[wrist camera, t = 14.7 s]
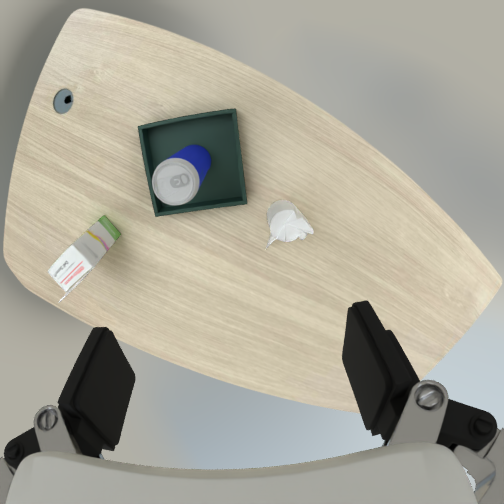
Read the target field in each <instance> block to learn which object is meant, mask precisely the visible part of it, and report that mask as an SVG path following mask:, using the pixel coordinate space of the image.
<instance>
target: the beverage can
mask: <svg viewBox="0 0 504 504" xmlns="http://www.w3.org/2000/svg"><path fill="white" fill-rule="evenodd" d="M210 166H211V157H210V154H209V153H208V151H207V150H206V149H205V148H204V147H202V146H199V145H189V146H187V147H185V148H183V149H182V150H180V151H178V152H177V153H175V154H174V155H172V156H171V157H169V158H168V159H166V160H165V161H163V162H162V163H160V164H159V165H158V166H157V168H156V169H155V171H154V174H153V178H152V186H153V190H154V192H155V194H156V196H157V197H158V198H159V199H160V200H161V201H162V202H164V203H166V204H168V205H181V204H185V203H187V202H189V201H190V200H191V199H193V198H194V196H195V195H196V193H197V192H198V190H199V188H200V186H201V184H202V182H203V180H204V178H205V176H206V174H207V172H208V171H209V169H210Z"/></svg>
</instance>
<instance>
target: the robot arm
mask: <svg viewBox="0 0 504 504" xmlns="http://www.w3.org/2000/svg"><path fill="white" fill-rule="evenodd" d="M342 360H343V364H344V367H345V370H346V373H347V375H348V378H349V381H350V384H351V387H352V390H353V392H354V395H355V398H356V401H357V404H358V407H359V410H360V413H361V416H362V419H363V422H364V425H365V428H366V430H371V433H372V436H374V435H378V434H381V437H382V439H383V440H385V441H384V443H383V445H382V447H378V448H374V449H370V450H365V451H360V452H356V453H352V454H348V455H343V456H338V457H333V458H328V459H322V460H316V461H311V462H305V463H298V464H291V465H283V466H274V467H263V468H249V469H224V470H201V469H177V468H163V467H152V466H143V465H135V464H128V463H122V462H116V461H110V460H105V459H104V458H103V456H102V454H101V451H102V449H105V450H110V451H114V449H115V445H117V444H118V443H119V440H120V436H121V431H122V427H123V424H124V419H125V416H126V412H127V408H128V405H129V401H130V397H131V394H132V390H133V387H134V383H135V373H134V371H133V370H132V368H131V366H130V364H129V362H128V361H127V359H126V357H125V355H124V353H123V351H122V349H121V348H120V346H119V344H118V342H117V340H116V338H115V336H114V334H113V332H112V331H110V330H109V329H108V328H107V327H95V328H93V330H92V331H91V333H90V335H89V337H88V339H87V341H86V343H85V345H84V347H83V349H82V351H81V353H80V355H79V357H78V359H77V361H76V363H75V365H74V367H73V369H72V371H71V373H70V376H69V377H68V380H67V382H66V384H65V386H64V388H63V391H62V393H61V395H60V397H59V400H58V404H59V406H58V408H57V407H56V406H53V405H47V406H44V407H42V408H41V409H40V410H39V411H38V412H37V413H36V415H35V418H34V427H33V428H31V429H30V430H28V431H26V432H25V433H23V434H21V435H19V436H18V437H16V438H14V439H12V440H11V441H10V442H9V443H8V444H7V445H6V447H5V450H4V457H5V458H3V457H1V458H0V504H504V429H503V428H502V429H501V430H499V429H498V428H497V423H496V420H495V418H494V417H493V416H492V415H491V414H490V413H489V412H486V411H484V410H480V409H477V408H474V407H471V406H468V405H465V404H462V403H459V402H456V401H453V400H450V399H448V393H447V390H446V389H445V387H444V386H443V385H442V384H440V383H439V382H436V381H433V380H423V381H421V382H420V380H419V378H418V376H417V375H416V373H415V371H414V369H413V367H412V365H411V363H410V362H409V360H408V358H407V356H406V354H405V353H404V351H403V349H402V347H401V346H400V344H399V342H398V340H397V339H396V337H395V335H394V334H393V332H392V331H391V330H385V328H384V327H383V325H382V323H381V322H380V320H379V318H378V316H377V315H376V313H375V311H374V310H373V308H372V306H371V305H370V303H369V302H368V301H361V302H355V303H353V304H352V307H349V308H348V313H347V322H346V330H345V338H344V345H343V352H342ZM462 466H463V467H465V468H466V469H467V470H468V471H467V473H468V474H470V475H471V476H472V477H473V478H474V479H475V483H476V488H475V491H473V489H472V486H471V483H470V481H469V479H468V477H467V475H466V473H465V470H464V469H463V467H462Z"/></svg>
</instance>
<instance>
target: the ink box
mask: <svg viewBox="0 0 504 504" xmlns="http://www.w3.org/2000/svg"><path fill="white" fill-rule="evenodd" d="M120 235H121V234H120V232H119V231H118V230H117V229H116V228H115V227H114V226H113V225H112V224H111V222H110V221H109V220H108V219H107V218H106V217H105V215H104V216H102V217H101V218H100V219H99V220H98V221H97V222H96V223H94V224H93V225H92V226H91V227H90V228H89V229H88V230H87V231H85V232H84V233H83V234H82V235H81V236H80V237H79V238H78V239H77V240H76V241H74V242H73V243H72V244H71V245H70V246H69V247H68V248H67V249H66V250H65V251H64V252H63V254H62V255H61V256H60V257H59V258H58V259H57V260H56V261H55V263H54V264H53V265H52V266H51V267H50V269H49V270H48V273H49V274H50V275H51V276H52V278H53V279H54V280H55V281H56V282H57V283H58V284H59V285H60V286H61V288H62V289H63V290H64V291H65V292H67V293H66V294H65V295H64V296H63V298H62V299H61V300H60V301H59V302H61V301H62V300H63V299H64V298H65V297H66V296H67V295H68V294H69V293H70V292H71V291H72V290H73V289H74V288H75V287H76V286H77V285H78V284H79V283H80V282H81V281H82V280H83V279H84V278H85V277H86V276H87V275H88V274H89V273H90V272H91V270H92V269H93V268H94V267H95V266H96V264H97V263H98V262H99V261H100V259H101V258H102V257H103V256H104V254H105V253H106V252H107V251H108V250H109V248H110V247H111V246H112V245H113V244H114V242H115V241H116V240H117V239H118V238H119V236H120Z"/></svg>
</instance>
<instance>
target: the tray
mask: <svg viewBox="0 0 504 504" xmlns="http://www.w3.org/2000/svg"><path fill="white" fill-rule="evenodd" d="M138 132H139V138H140V144H141V149H142V155H143V160H144V165H145V171H146V176H147V181H148V185H149V190H150V195H151V199H152V204H153V208H154V213H155V217H158V216H164V215H171V214H178V213H184V212H191V211H198V210H206V209H213V208H221V207H228V206H236V205H245V204H247V197H246V189H245V180H244V172H243V164H242V155H241V147H240V139H239V131H238V123H237V114H236V109H235V108H234V109H227V110H219V111H212V112H206V113H200V114H194V115H188V116H183V117H178V118H173V119H168V120H163V121H158V122H154V123H149V124H145V125H141V126H138ZM189 145H199V146H202V147H204V148H205V149H206V150H207V151H208V153H209V154H210V157H211V166H210V169H209V171H208V172H207V174H206V176H205V178H204V180H203V182H202V184H201V186H200V188H199V190H198V192H197V193H196V195H195V196H194V198H193V199H191V200H190V201H189V202H187V203H185V204H181V205H168V204H166V203H164V202H162V201H161V200H160V199H159V198H158V197H157V196H156V194H155V192H154V190H153V186H152V178H153V174H154V171H155V169H156V168H157V166H158V165H159V164H160V163H162V162H163V161H165V160H166V159H168V158H169V157H171V156H172V155H174V154H175V153H177V152H178V151H180V150H182V149H183V148H185V147H187V146H189Z"/></svg>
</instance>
